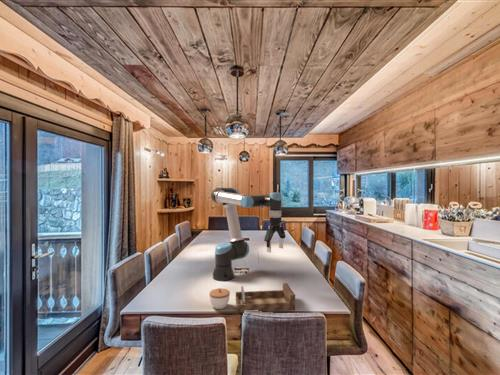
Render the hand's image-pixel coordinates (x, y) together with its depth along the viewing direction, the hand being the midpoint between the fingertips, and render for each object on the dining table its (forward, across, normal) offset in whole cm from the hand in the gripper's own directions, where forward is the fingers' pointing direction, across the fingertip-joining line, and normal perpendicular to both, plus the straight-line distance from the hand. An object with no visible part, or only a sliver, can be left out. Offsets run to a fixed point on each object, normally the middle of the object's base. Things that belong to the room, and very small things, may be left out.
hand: (275, 250), depth 165 cm
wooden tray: (+24, -23, -9) cm, 34 cm away
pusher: (+23, -30, -2) cm, 38 cm away
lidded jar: (+24, -41, +8) cm, 48 cm away
